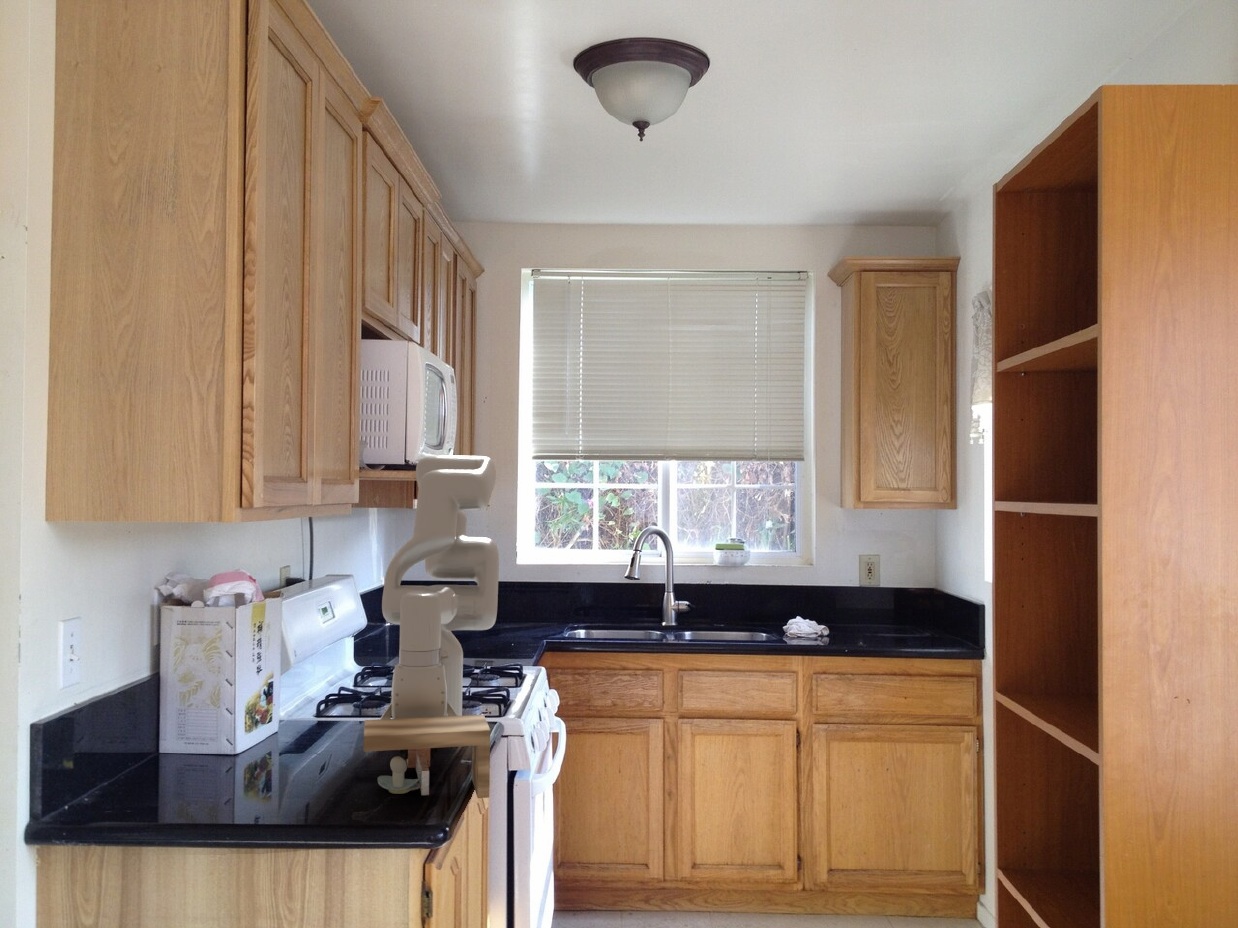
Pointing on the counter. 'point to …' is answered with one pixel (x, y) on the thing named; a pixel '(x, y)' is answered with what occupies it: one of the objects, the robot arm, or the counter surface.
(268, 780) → the counter surface
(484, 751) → the oak shelf
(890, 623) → the counter surface
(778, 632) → the counter surface
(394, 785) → the pacifier
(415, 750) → the orange-brown mallet
